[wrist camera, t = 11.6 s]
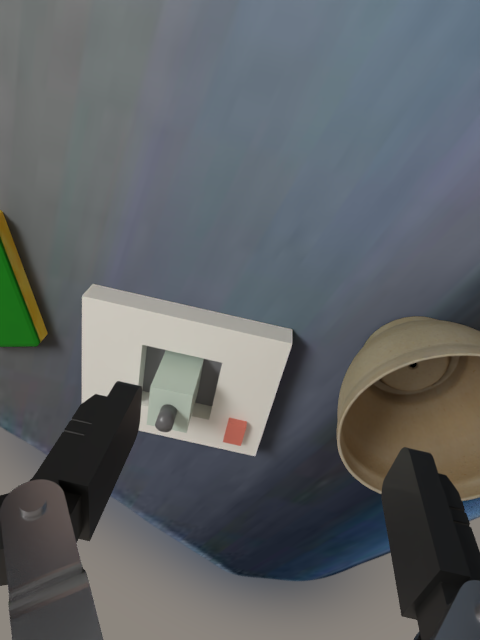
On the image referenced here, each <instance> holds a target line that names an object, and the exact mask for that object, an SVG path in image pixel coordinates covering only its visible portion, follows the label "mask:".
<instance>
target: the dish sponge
mask: <svg viewBox="0 0 480 640" xmlns="http://www.w3.org/2000/svg"><path fill="white" fill-rule="evenodd" d="M47 334H48V333H47V330H46V327H45V325H44V322H43V319H42V317H41V314H40V311H39V308H38V306H37V303H36V300H35V298H34V295H33V292H32V290H31V287H30V284H29V282H28V279H27V276H26V273H25V271H24V268H23V265H22V263H21V260H20V257H19V255H18V252H17V249H16V246H15V244H14V241H13V238H12V236H11V233H10V230H9V228H8V225H7V222H6V219H5V217H4V214H3V212H2V211H1V210H0V347H19V346H38V345H39V343H40V342H41V341H42V340H43V339H44V338H45V337H46V335H47Z"/></svg>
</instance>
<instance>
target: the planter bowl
mask: <svg viewBox="0 0 480 640" xmlns="http://www.w3.org/2000/svg"><path fill="white" fill-rule="evenodd" d="M413 363H416V364H417V365H416V366H415V367H414V368H412V367H410V366H409V365H410V364H413ZM337 445H338V451H339V454H340V457H341V459H342V461H343V463H344V465H345V467H346V468H347V469H348V471H349V472H350V473H351V474H352V475H353V476H354V477H355V478H356V479H357V480H358V481H359V482H361V483H362V484H363V485H365V486H366V487H368V488H370V489H371V490H373V491H376V492H378V493H380V494H382V485H383V481H384V478H385V477H386V475H387V473H388V471H389V469H390V468H391V466H392V464H393V462H394V461H395V459H396V457H397V455H398V454H399V452H400V450H401V449H402V448H403V447H406V448H411V449H415V450H420V451H424V452H428V453H431V454H432V456H433V458H434V461H435V464H436V467H437V471H438V473H440V474H444V475H447V477H448V478H449V479H450V481H451V482H452V484H453V485H454V486H455V488H456V489H457V490H458V492H459V494H460V497H461V500H462V501H465V500H470V499H475V498H478V497H480V331H478V330H475V329H473V328H470V327H468V326H465V325H461V324H458V323H454V322H449V321H441V320H436V319H433V318H428V317H417V316H414V317H406V318H401V319H398V320H394V321H392V322H390V323H388V324H386V325H384V326H382V327H381V328H379V329H378V330H377V331H375V332H374V333H373V334H372V335H371V336H370V337H369V339H368V340H367V341H366V343H365V345H364V346H363V348H362V349H361V350H360V351H359V352H358V354H357V355H356V356H355V358H354V359H353V361H352V363H351V365H350V366H349V368H348V370H347V372H346V375H345V377H344V380H343V383H342V386H341V390H340V394H339V401H338V424H337Z"/></svg>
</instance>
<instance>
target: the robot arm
mask: <svg viewBox="0 0 480 640" xmlns="http://www.w3.org/2000/svg"><path fill="white" fill-rule="evenodd" d="M141 401H142V386H138V385H134V384H129V383H125V382H121V381H117V382H116V383H115V384H114V386H113V388H112V389H111V391H110V393H109V394H108V396H103V395H98V394H95V395H93V396H92V397H90V398H89V399H88V400H86V401H85V402H84V403H82V404H81V405H80V407H79V408H78V410H77V411H76V413H75V414H74V416H73V417H72V420H71V421H70V422H69V423H68V425H67V426H66V428H65V431H64V432H63V433H62V434H61V436H60V437H59V439H58V440H57V442H56V443H55V445H54V446H53V448H52V449H51V451H50V453H49V454H48V456H47V457H46V459H45V460H44V462H43V463H42V465H41V466H40V468H39V469H38V471H37V473H36V474H35V475H34V477H33V478H32V479H31V480H30V481H28V482H26V483H23V484H21V485H19V486H18V487H16V488H15V489H13V490H12V491H11V492H10V493H8V494H4V495H1V496H0V586H2V585H8V590H9V615H10V624H11V634H12V640H103V637H102V632H101V628H100V624H99V620H98V616H97V612H96V608H95V605H94V600H93V597H92V592H91V588H90V584H89V581H88V577H87V574H86V572H85V570H84V569H83V567H82V564H81V560H80V556H79V552H78V548H77V544H76V543H77V541H78V539H83V540H87V541H90V539H91V537H92V535H93V533H94V531H95V528H96V526H97V524H98V522H99V519H100V517H101V515H102V513H103V511H104V508H105V506H106V504H107V502H108V500H109V497H110V495H111V493H112V491H113V488H114V486H115V484H116V482H117V479H118V477H119V475H120V473H121V471H122V468H123V466H124V464H125V462H126V459H127V457H128V455H129V453H130V451H131V448H132V446H133V444H134V442H135V439H136V436H137V433H138V429H139V425H140V415H141ZM382 504H383V509H384V515H385V521H386V527H387V533H388V539H389V545H390V551H391V556H392V562H393V568H394V574H395V580H396V586H397V592H398V597H399V603H400V609H401V615H402V616H403V617H407V618H412V619H416V620H417V621H418V625H419V632H418V634H417V635H416V636H415V638H414V640H480V552H479V549H478V546H477V543H476V541H475V537H474V534H473V532H472V529H471V527H469V524H470V523H469V520H468V517H467V514H466V513H465V512H464V510H465V509H464V506H463V503H462V500H461V497H460V494H459V492H458V490H457V489H456V488H455V486H454V485H453V484H452V482H451V481H450V479H449V478H448V477H447V475H444V474H440V473H438V471H437V467H436V464H435V461H434V458H433V456H432V454H431V453H428V452H424V451H420V450H415V449H411V448H406V447H403V448H402V449H401V450H400V452H399V454H398V455H397V457H396V459H395V461H394V462H393V464H392V466H391V468H390V469H389V471H388V473H387V475H386V477H385V478H384V481H383V485H382Z"/></svg>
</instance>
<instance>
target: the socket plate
mask: <svg viewBox="0 0 480 640" xmlns="http://www.w3.org/2000/svg"><path fill="white" fill-rule="evenodd" d="M291 347H292V329H288V328H284V327H280V326H275V325H271V324H267V323H262V322H258V321H253V320H249V319H245V318H240V317H236V316H231V315H227V314H223V313H218V312H214V311H210V310H205V309H201V308H196V307H192V306H188V305H183V304H179V303H174V302H170V301H166V300H161V299H157V298H153V297H148V296H144V295H139V294H135V293H131V292H126V291H122V290H117V289H113V288H109V287H104V286H100V285H96V284H92V285H91V286H90V288H89V289H88V290H87V291H86V292H85V293H84V294H83V295H82V403H84V402H85V401H86V400H88V399H89V398H90V397H92V396H93V395H95V394H98V395H103V396H108V394H109V393H110V391H111V389H112V388H113V386H114V384H115V383H116V382H117V381H121V382H125V383H129V384H134V385H138V386H142V401H141V415H140V425H139V429H138V430H139V431H144V432H148V433H153V434H157V435H162V436H166V437H171V438H175V439H180V440H184V441H189V442H193V443H198V444H202V445H207V446H211V447H216V448H220V449H225V450H229V451H234V452H238V453H243V454H247V455H252V456H255V455H256V452H257V449H258V446H259V443H260V440H261V437H262V434H263V431H264V428H265V425H266V422H267V419H268V416H269V413H270V410H271V407H272V404H273V401H274V398H275V395H276V392H277V389H278V386H279V383H280V380H281V377H282V374H283V371H284V368H285V365H286V362H287V359H288V356H289V353H290V350H291ZM166 350H168V351H172V352H177V353H181V354H186V355H190V356H195V357H199V358H203V359H204V361H203V367H202V372H201V378H200V384H199V389H198V394H197V398H196V401H195V405H194V408H193V412H192V416H191V419H190V423H189V426H188V430H187V433H184V432H179V431H175V430H171V431H169V432H161V431H159V430H158V429H157V428H156V427H155V426H151V425H147V416H148V405H149V395H150V386H151V384H152V381H153V379H154V377H155V374H156V372H157V370H158V367H159V365H160V363H161V360H162V358H163V356H164V354H165V351H166Z"/></svg>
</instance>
